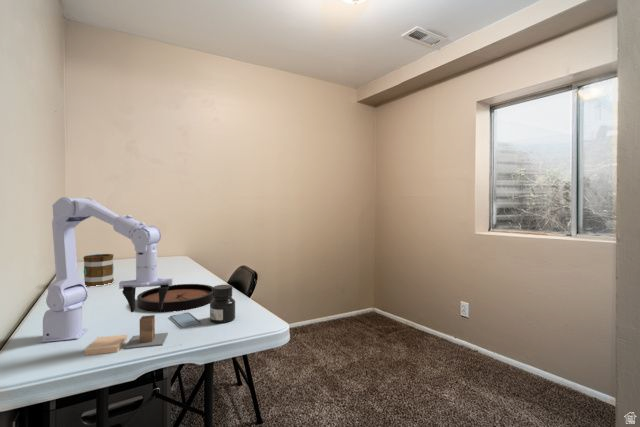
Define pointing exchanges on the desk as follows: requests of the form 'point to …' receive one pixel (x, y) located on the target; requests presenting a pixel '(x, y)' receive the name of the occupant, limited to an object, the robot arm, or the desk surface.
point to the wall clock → (176, 298)
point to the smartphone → (185, 320)
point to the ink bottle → (222, 304)
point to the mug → (98, 269)
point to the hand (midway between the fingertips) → (147, 310)
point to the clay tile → (106, 344)
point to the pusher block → (147, 328)
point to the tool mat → (136, 343)
